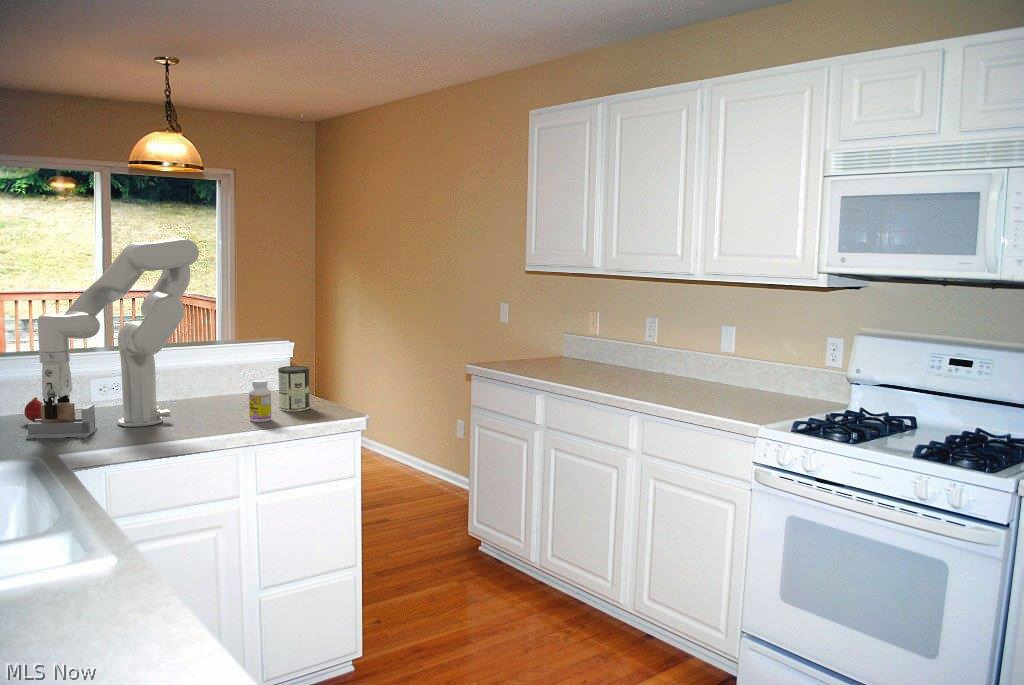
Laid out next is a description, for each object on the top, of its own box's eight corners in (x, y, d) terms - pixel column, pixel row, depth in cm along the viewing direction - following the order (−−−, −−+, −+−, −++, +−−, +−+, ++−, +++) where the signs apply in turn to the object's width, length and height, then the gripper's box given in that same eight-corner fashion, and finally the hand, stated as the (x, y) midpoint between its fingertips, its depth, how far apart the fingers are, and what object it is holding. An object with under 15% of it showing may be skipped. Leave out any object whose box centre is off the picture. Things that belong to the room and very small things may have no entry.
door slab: (75, 429, 235) (74, 402, 234) (72, 431, 233) (70, 404, 232) (46, 429, 234) (44, 403, 233) (42, 432, 231) (40, 405, 230)
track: (97, 429, 239) (95, 403, 238) (86, 437, 230) (85, 410, 229) (38, 431, 236) (37, 404, 235) (26, 438, 227) (24, 411, 226)
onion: (36, 425, 243) (35, 399, 242) (20, 424, 244) (18, 398, 243) (51, 421, 249) (49, 396, 248) (35, 420, 250) (33, 395, 249)
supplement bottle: (245, 420, 256) (244, 380, 254) (264, 417, 260) (263, 378, 259) (256, 423, 251) (255, 383, 249) (275, 420, 256) (274, 380, 254)
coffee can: (295, 404, 281) (294, 364, 279) (316, 408, 275) (315, 367, 274) (272, 409, 272) (271, 368, 270) (293, 413, 267) (292, 371, 265)
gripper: (57, 361, 222) (60, 421, 225) (79, 352, 239) (82, 408, 242) (28, 361, 221) (31, 422, 223) (51, 352, 238) (55, 409, 240)
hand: (57, 415), depth 232 cm, fingers open, 9 cm apart
